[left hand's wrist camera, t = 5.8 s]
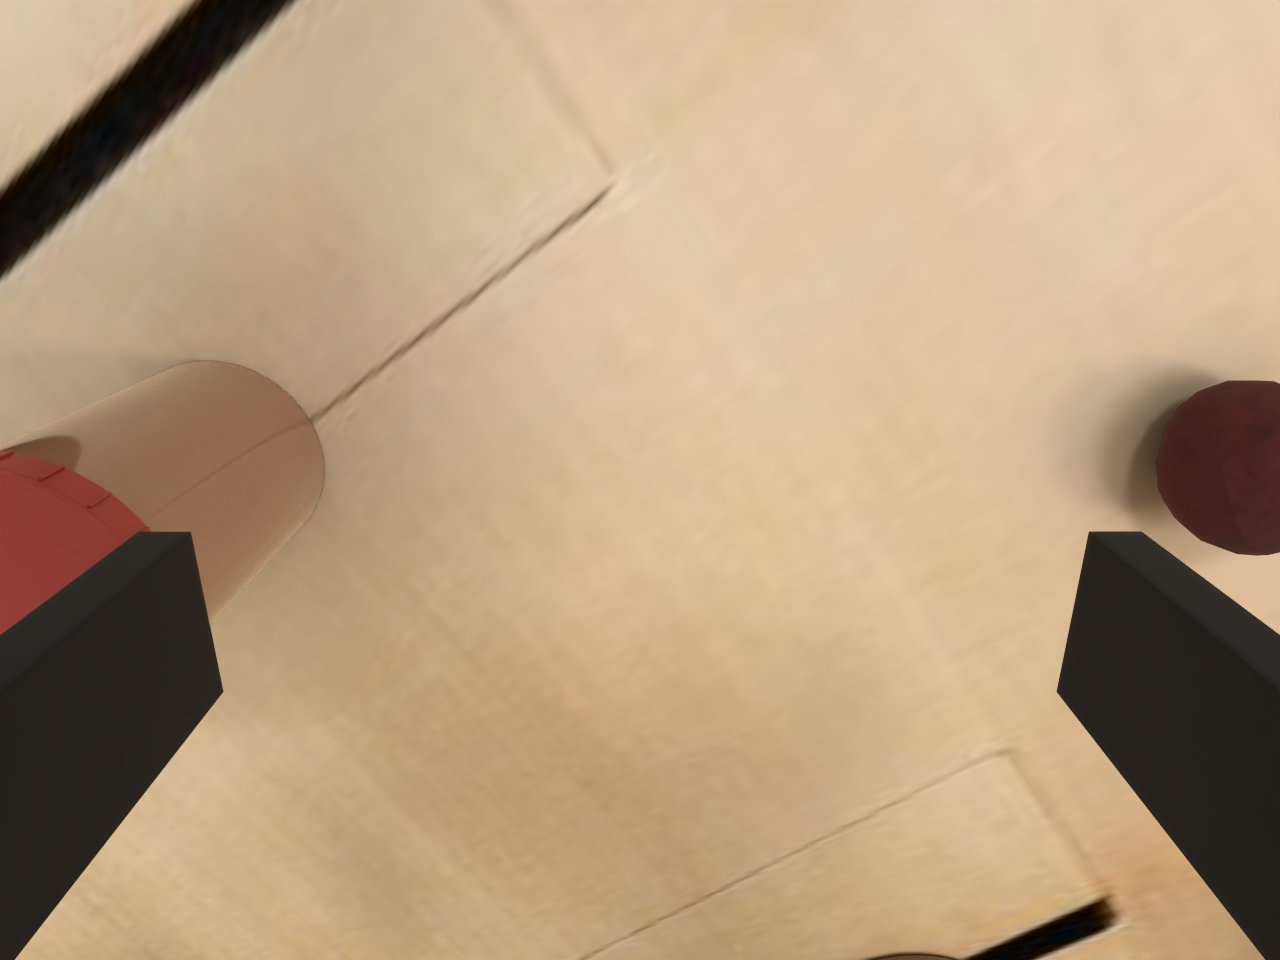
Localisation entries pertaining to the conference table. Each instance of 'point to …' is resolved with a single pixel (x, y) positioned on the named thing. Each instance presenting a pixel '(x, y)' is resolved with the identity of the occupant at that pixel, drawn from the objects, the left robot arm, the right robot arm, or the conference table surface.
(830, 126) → the conference table surface
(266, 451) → the jar
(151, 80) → the conference table surface
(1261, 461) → the maroon round ball
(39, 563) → the lid
